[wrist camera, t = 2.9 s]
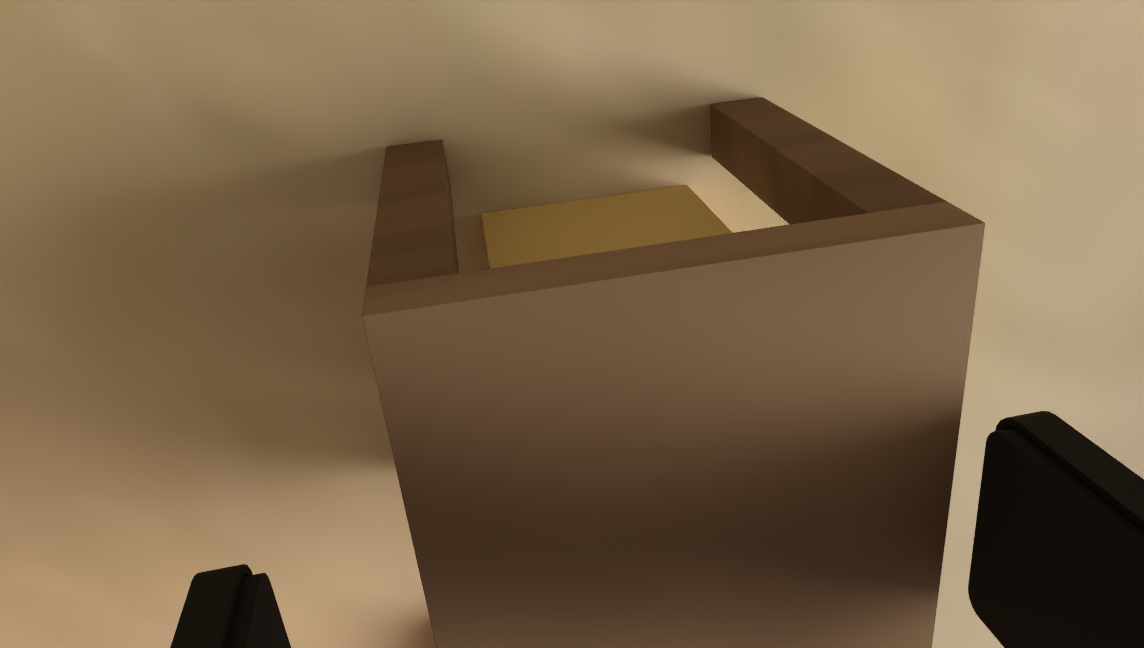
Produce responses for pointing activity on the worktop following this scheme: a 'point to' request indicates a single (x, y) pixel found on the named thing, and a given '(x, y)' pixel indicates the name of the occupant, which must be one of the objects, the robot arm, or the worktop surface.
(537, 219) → the block
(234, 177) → the worktop surface
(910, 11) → the worktop surface
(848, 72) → the worktop surface
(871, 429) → the small wooden table
